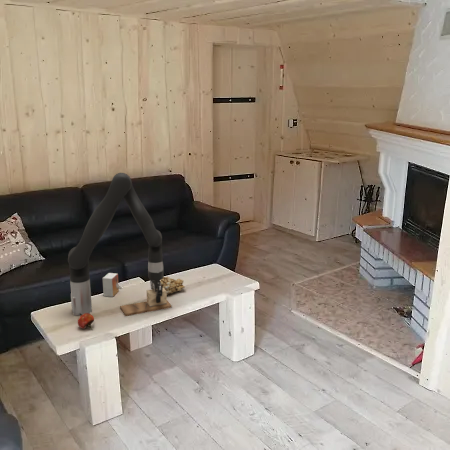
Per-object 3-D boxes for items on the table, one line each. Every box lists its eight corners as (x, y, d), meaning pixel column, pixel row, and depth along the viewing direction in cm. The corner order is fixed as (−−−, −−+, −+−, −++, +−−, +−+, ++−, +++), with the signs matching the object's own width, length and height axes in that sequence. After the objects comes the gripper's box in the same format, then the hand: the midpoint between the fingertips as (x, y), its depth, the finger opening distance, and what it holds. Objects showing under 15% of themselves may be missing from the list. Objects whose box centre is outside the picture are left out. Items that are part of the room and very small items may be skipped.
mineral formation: (166, 297, 259) (152, 287, 269) (186, 295, 267) (171, 285, 278) (168, 283, 257) (154, 273, 268) (189, 281, 266) (174, 272, 276)
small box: (113, 297, 259) (112, 278, 256) (103, 296, 260) (102, 277, 257) (119, 291, 267) (118, 273, 264) (109, 290, 268) (108, 272, 265)
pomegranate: (97, 330, 228) (86, 313, 232) (100, 322, 223) (89, 305, 227) (83, 337, 224) (72, 320, 227) (86, 329, 218) (75, 312, 222)
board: (125, 316, 237) (124, 314, 237) (120, 308, 246) (120, 306, 246) (171, 307, 247) (171, 305, 247) (165, 300, 256) (165, 297, 256)
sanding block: (149, 306, 245) (149, 294, 243) (147, 302, 249) (146, 290, 247) (166, 303, 248) (166, 291, 246) (163, 299, 253) (163, 287, 251)
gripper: (144, 265, 248) (145, 296, 253) (152, 275, 236) (153, 307, 240) (158, 263, 251) (159, 293, 256) (167, 272, 239) (168, 304, 243)
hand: (156, 300), depth 248 cm, fingers closed on sanding block, 5 cm apart
